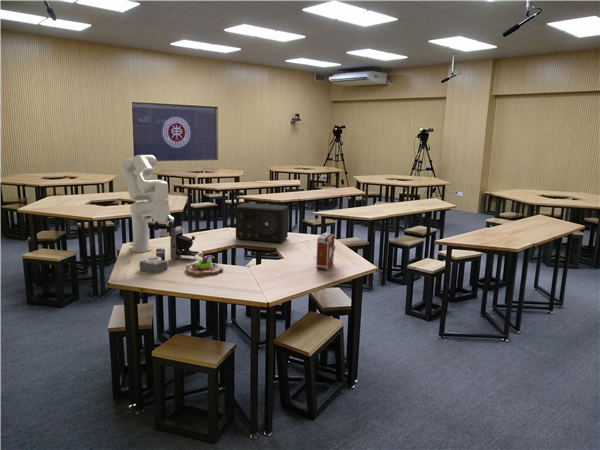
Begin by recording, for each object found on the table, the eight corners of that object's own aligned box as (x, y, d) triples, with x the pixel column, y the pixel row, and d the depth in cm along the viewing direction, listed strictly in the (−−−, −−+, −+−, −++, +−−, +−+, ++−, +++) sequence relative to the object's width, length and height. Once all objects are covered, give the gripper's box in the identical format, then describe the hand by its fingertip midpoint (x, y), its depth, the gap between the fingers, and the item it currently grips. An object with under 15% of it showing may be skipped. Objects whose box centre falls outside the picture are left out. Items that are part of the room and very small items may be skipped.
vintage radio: (231, 240, 324) (231, 206, 319) (240, 234, 343) (241, 202, 338) (281, 244, 316) (281, 210, 311) (288, 238, 335) (288, 205, 330)
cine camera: (337, 262, 277) (338, 231, 273) (329, 271, 259) (330, 238, 255) (323, 261, 280) (324, 230, 276) (313, 269, 262) (315, 236, 258)
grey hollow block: (139, 270, 251) (139, 259, 250) (151, 266, 259) (151, 255, 258) (155, 273, 246) (155, 262, 245) (167, 269, 254) (166, 258, 253)
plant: (180, 269, 255) (179, 251, 253) (211, 264, 267) (211, 246, 265) (194, 279, 240) (194, 259, 237) (227, 273, 251) (227, 254, 249)
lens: (154, 262, 266) (153, 249, 264) (160, 260, 270) (160, 247, 269) (160, 264, 264) (160, 251, 262) (167, 261, 268) (166, 249, 267)
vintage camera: (193, 262, 270) (194, 230, 266) (169, 259, 273) (170, 227, 269) (199, 258, 279) (200, 227, 275) (177, 255, 282) (177, 224, 278)
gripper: (146, 201, 261) (147, 230, 264) (168, 204, 253) (169, 234, 256) (155, 200, 267) (156, 228, 271) (177, 203, 259) (178, 231, 263)
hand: (162, 231), depth 263 cm, fingers open, 9 cm apart
